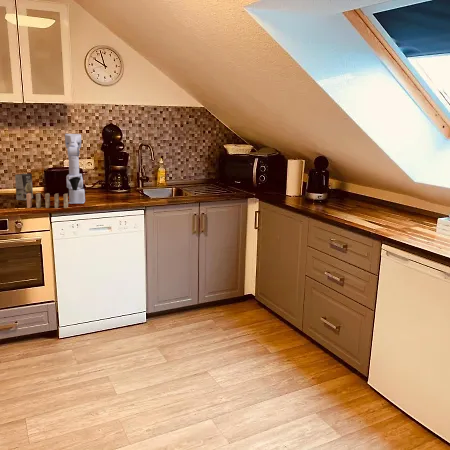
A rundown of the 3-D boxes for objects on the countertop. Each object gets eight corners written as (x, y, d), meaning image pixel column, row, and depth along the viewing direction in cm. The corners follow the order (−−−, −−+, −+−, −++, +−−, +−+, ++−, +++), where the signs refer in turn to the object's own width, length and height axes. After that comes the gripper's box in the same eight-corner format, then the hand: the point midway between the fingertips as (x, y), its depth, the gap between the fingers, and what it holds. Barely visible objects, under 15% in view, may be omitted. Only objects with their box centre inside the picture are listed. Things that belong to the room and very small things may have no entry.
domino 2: (50, 206, 286) (49, 193, 284) (48, 207, 281) (47, 194, 280) (47, 206, 286) (46, 193, 284) (45, 207, 281) (45, 194, 279)
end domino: (31, 206, 284) (31, 193, 283) (30, 207, 280) (29, 194, 278) (29, 206, 284) (28, 193, 282) (27, 207, 279) (26, 194, 278)
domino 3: (59, 206, 287) (58, 193, 285) (57, 207, 282) (57, 194, 280) (56, 206, 287) (55, 193, 285) (54, 207, 282) (54, 194, 280)
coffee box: (25, 200, 301) (23, 175, 297) (16, 199, 302) (14, 174, 298) (33, 198, 310) (32, 173, 306) (24, 197, 311) (23, 172, 307)
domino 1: (41, 206, 285) (40, 193, 283) (39, 207, 280) (38, 194, 279) (38, 206, 285) (37, 193, 283) (36, 207, 280) (35, 194, 278)
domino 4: (68, 206, 288) (67, 193, 286) (66, 208, 283) (66, 194, 281) (65, 206, 288) (64, 193, 286) (64, 208, 283) (63, 194, 281)
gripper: (74, 166, 288) (75, 188, 291) (61, 168, 275) (62, 191, 277) (84, 166, 287) (85, 188, 290) (72, 168, 273) (73, 192, 276)
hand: (74, 190), depth 284 cm, fingers closed
